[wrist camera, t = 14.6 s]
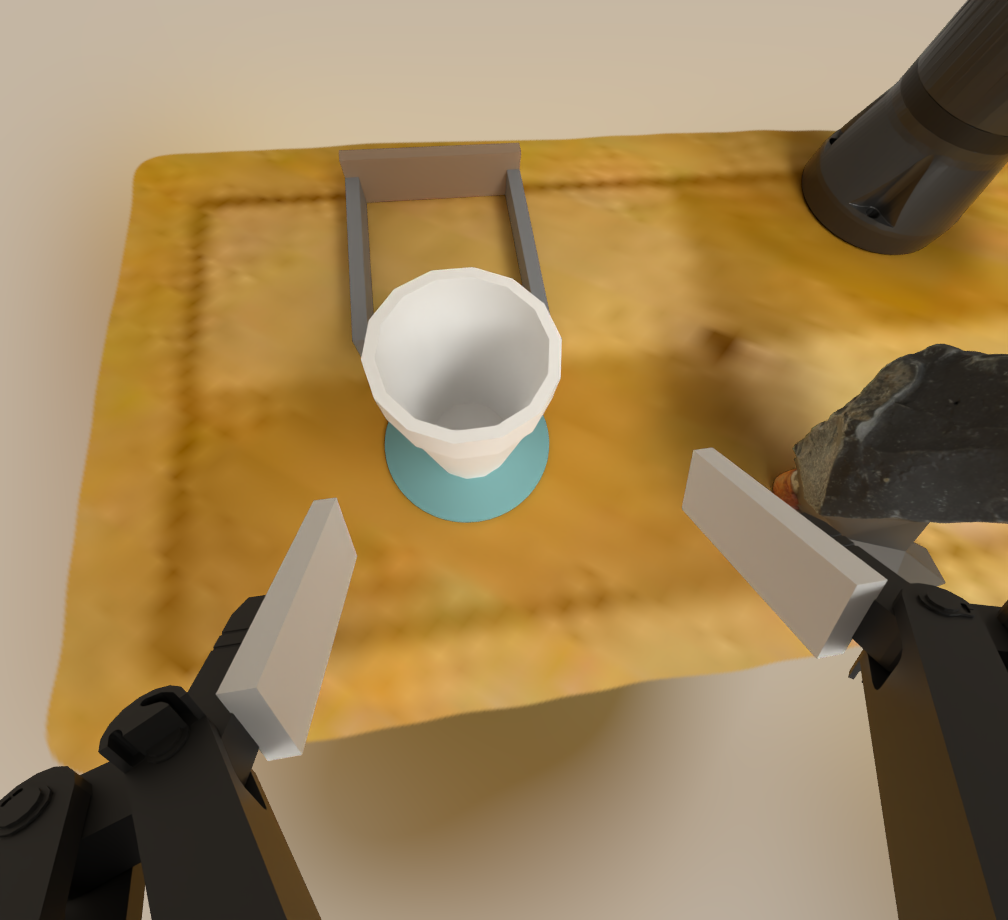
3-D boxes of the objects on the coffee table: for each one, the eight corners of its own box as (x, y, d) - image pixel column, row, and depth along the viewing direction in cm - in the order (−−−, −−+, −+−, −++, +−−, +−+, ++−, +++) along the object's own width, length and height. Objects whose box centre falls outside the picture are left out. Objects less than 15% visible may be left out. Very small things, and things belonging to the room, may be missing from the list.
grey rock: (846, 408, 34) (1224, 237, 17) (945, 583, 30) (1572, 595, 13) (702, 448, 32) (962, 302, 15) (788, 640, 28) (1278, 745, 11)
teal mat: (533, 362, 33) (534, 359, 33) (561, 510, 30) (562, 509, 29) (381, 377, 32) (380, 375, 32) (391, 533, 29) (390, 533, 28)
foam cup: (451, 522, 29) (429, 482, 16) (388, 425, 31) (324, 323, 18) (552, 454, 31) (601, 373, 18) (487, 367, 32) (491, 240, 20)
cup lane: (515, 184, 39) (518, 142, 35) (546, 340, 34) (555, 311, 30) (353, 193, 37) (338, 150, 34) (361, 358, 32) (345, 329, 29)
